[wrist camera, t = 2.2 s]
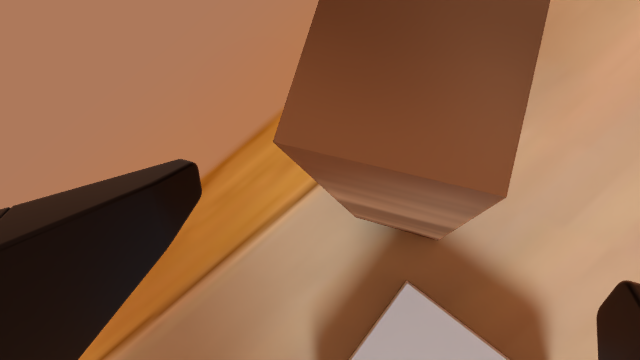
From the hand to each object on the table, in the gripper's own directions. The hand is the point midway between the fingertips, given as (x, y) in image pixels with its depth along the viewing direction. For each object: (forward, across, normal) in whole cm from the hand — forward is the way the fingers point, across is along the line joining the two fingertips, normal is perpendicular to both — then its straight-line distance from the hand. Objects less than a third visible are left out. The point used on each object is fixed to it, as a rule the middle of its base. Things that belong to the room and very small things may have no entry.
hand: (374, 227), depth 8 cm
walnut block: (+9, 0, +5) cm, 10 cm away
